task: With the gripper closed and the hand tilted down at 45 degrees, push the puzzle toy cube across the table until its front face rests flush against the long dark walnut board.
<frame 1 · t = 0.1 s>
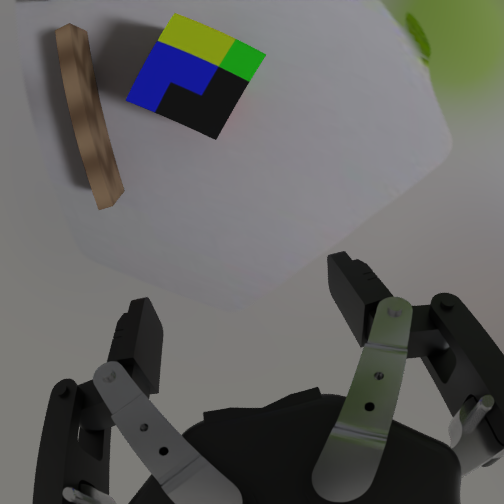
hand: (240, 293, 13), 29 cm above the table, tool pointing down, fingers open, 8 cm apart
puzzle toy: (197, 80, 33), on the table
board: (95, 111, 32), on the table
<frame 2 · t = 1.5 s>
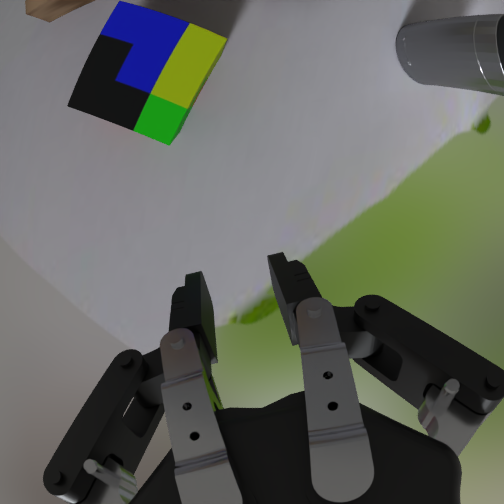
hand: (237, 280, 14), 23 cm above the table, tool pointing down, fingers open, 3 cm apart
puzzle toy: (159, 76, 28), on the table
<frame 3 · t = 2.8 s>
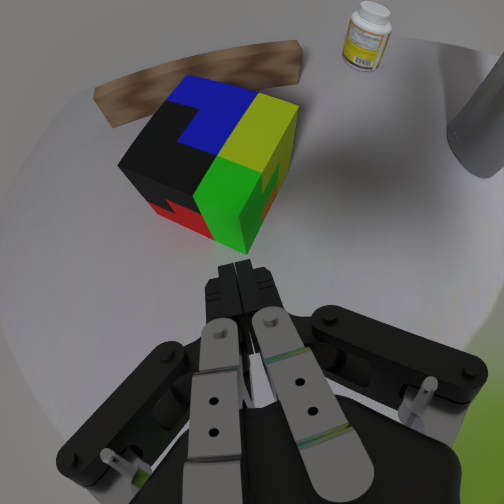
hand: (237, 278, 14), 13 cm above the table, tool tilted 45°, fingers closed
puzzle toy: (223, 191, 30), on the table
board: (202, 95, 33), on the table
supplement bottle: (359, 62, 35), on the table
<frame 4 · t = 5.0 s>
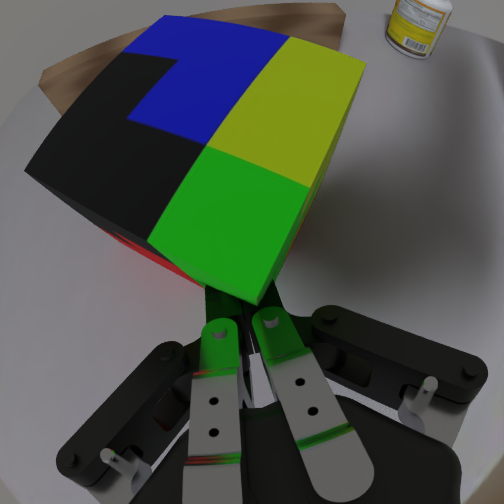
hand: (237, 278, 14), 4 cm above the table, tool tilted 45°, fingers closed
puzzle toy: (222, 208, 19), on the table, touching gripper
board: (196, 77, 22), on the table
supplement bottle: (406, 47, 24), on the table
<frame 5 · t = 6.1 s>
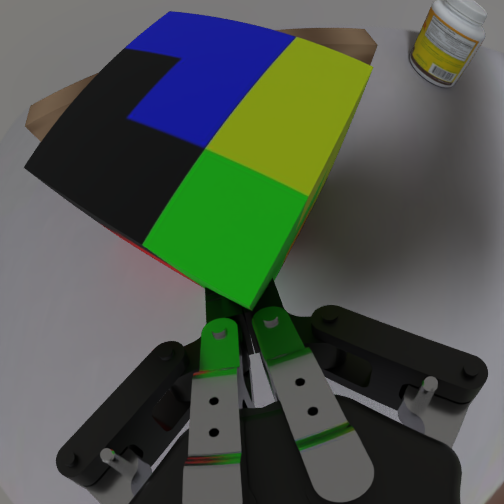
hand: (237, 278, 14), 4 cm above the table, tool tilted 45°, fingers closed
puzzle toy: (223, 206, 19), on the table, touching board, gripper
board: (205, 110, 21), on the table
supplement bottle: (430, 72, 22), on the table
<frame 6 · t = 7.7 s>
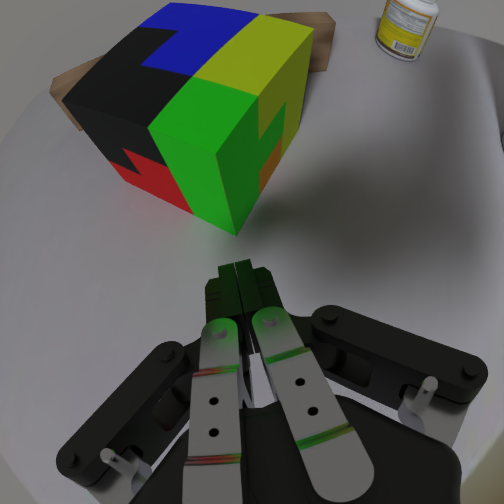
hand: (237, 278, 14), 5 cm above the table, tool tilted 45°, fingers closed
puzzle toy: (211, 153, 22), on the table
board: (197, 83, 24), on the table
supplement bottle: (395, 49, 26), on the table
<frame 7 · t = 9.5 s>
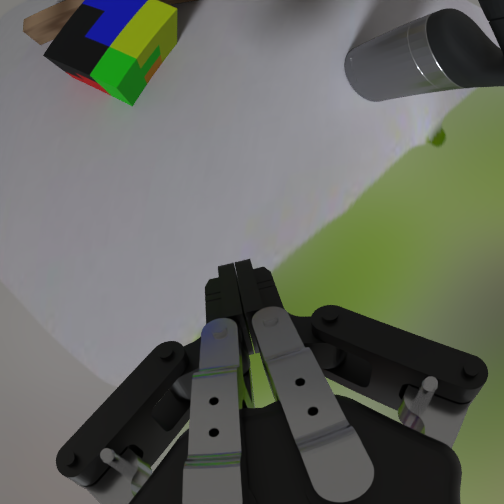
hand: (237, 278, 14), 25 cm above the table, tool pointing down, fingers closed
puzzle toy: (123, 58, 29), on the table
board: (120, 10, 26), on the table
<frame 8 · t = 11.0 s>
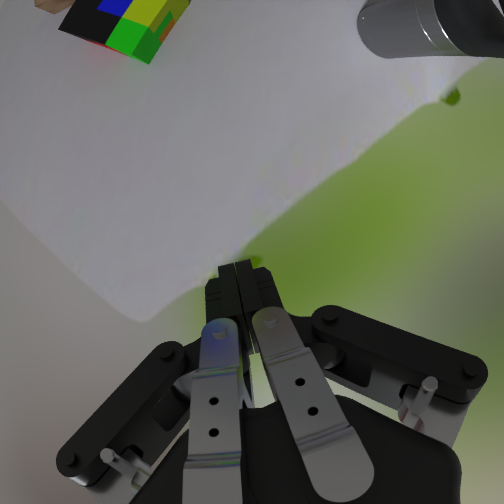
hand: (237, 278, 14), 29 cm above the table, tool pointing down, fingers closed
puzzle toy: (137, 21, 28), on the table
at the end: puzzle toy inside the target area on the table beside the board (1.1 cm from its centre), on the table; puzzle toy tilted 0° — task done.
